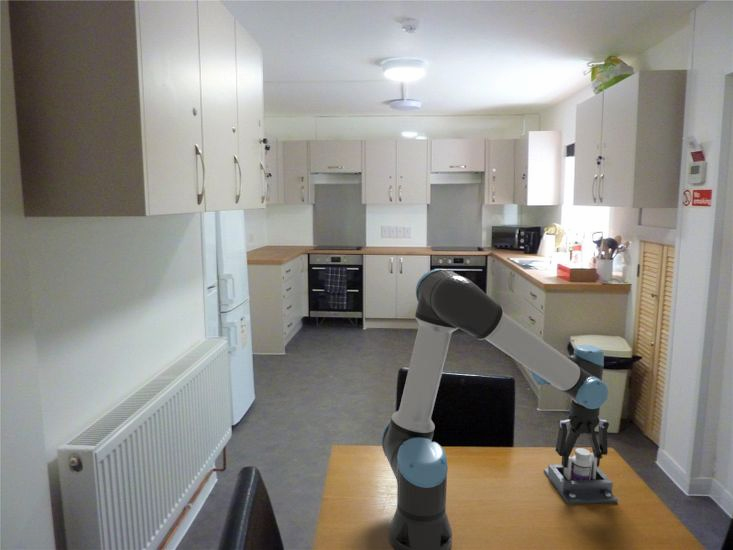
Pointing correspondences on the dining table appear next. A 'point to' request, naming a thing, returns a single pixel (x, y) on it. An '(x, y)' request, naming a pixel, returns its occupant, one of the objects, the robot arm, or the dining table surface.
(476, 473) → the dining table surface
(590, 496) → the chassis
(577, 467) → the pill bottle
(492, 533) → the dining table surface
